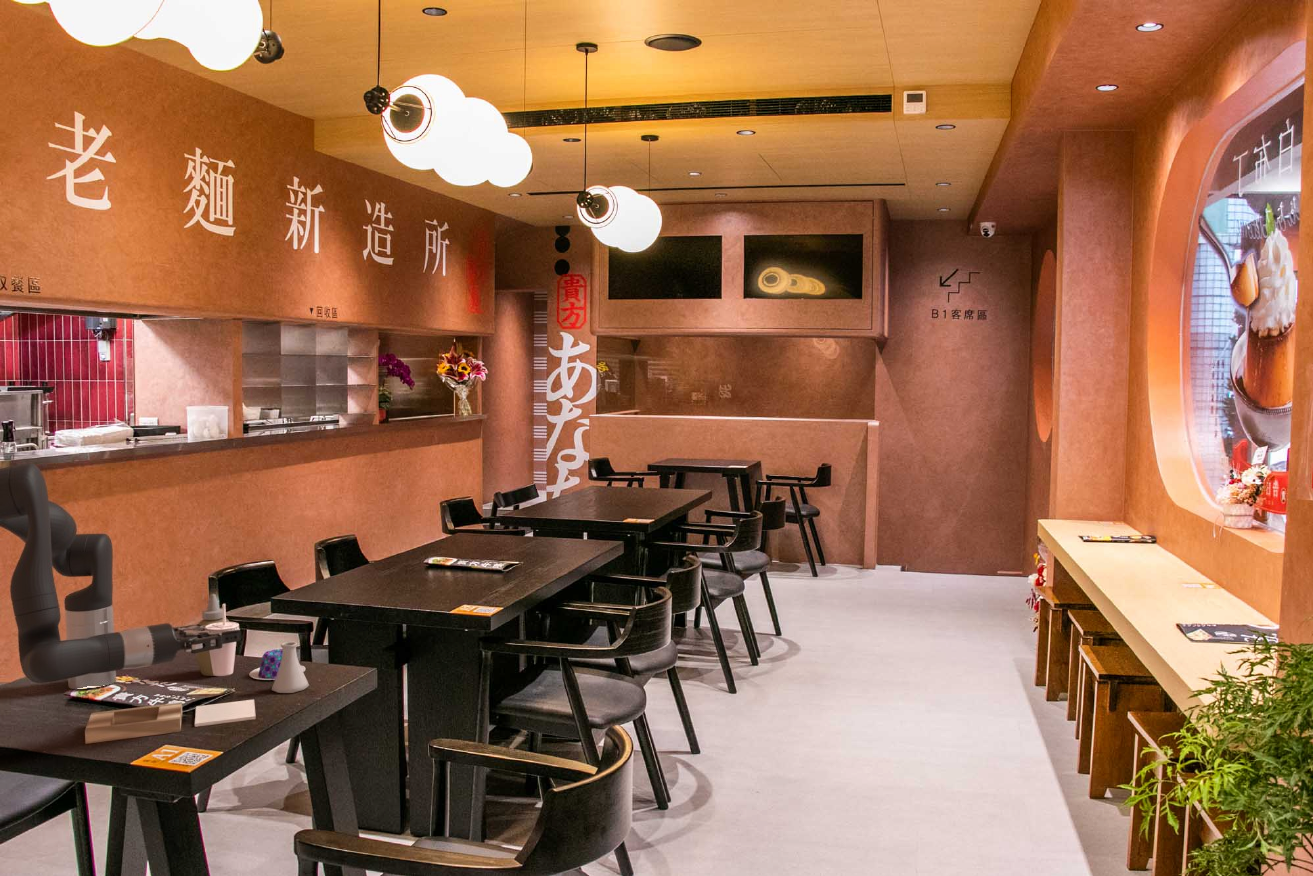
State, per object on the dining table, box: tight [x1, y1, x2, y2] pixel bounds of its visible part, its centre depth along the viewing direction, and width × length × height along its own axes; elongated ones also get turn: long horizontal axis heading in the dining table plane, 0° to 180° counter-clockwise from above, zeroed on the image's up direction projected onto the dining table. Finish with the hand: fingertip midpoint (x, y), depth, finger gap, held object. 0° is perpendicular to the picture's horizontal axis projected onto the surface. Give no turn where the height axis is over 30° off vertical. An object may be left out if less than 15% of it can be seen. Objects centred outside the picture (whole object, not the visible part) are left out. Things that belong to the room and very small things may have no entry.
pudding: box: [248, 648, 306, 681], centre depth 235 cm, size 12×12×5 cm
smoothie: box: [205, 603, 240, 677], centre depth 207 cm, size 6×6×14 cm
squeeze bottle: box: [195, 593, 230, 677], centre depth 236 cm, size 8×8×18 cm
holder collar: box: [84, 701, 183, 744], centre depth 200 cm, size 10×16×2 cm, turn 113°
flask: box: [271, 641, 310, 694], centre depth 224 cm, size 7×7×10 cm
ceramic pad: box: [194, 699, 257, 728], centre depth 208 cm, size 11×11×1 cm
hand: (233, 631), depth 209 cm, fingers closed on smoothie, 6 cm apart
